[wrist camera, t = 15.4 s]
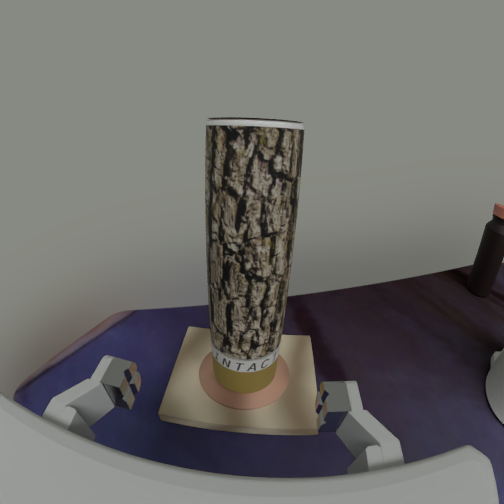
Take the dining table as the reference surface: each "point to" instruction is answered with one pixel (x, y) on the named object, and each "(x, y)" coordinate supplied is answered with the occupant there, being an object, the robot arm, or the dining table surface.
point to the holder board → (242, 404)
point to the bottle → (488, 255)
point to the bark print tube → (249, 243)
